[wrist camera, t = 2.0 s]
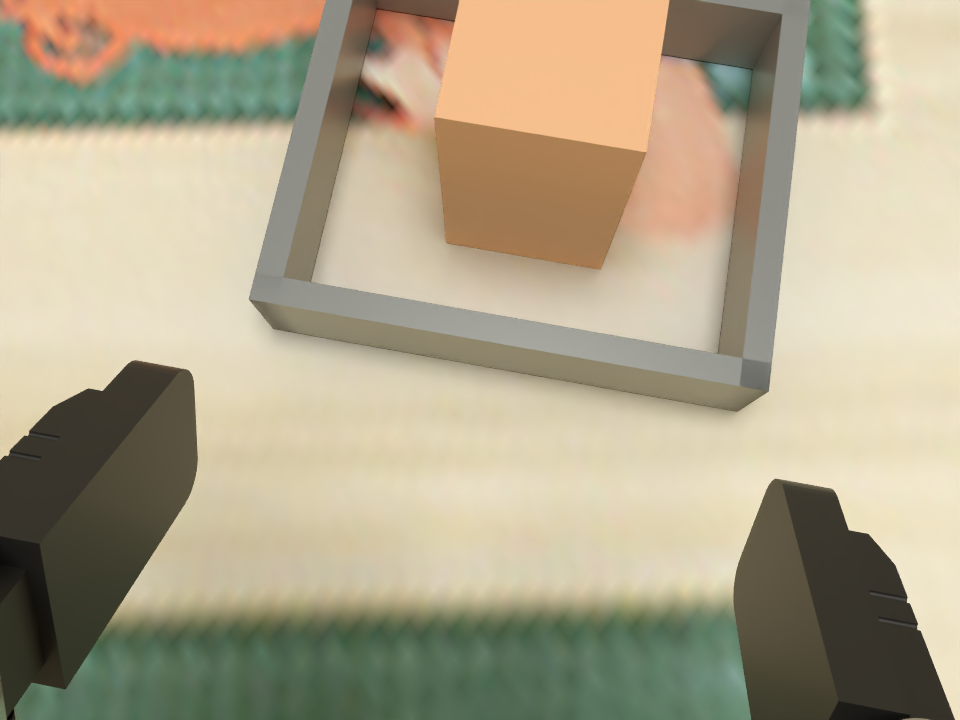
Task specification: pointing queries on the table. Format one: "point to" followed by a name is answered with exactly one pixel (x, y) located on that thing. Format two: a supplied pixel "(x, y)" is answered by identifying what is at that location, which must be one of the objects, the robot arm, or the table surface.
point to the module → (546, 122)
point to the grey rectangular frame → (527, 344)
